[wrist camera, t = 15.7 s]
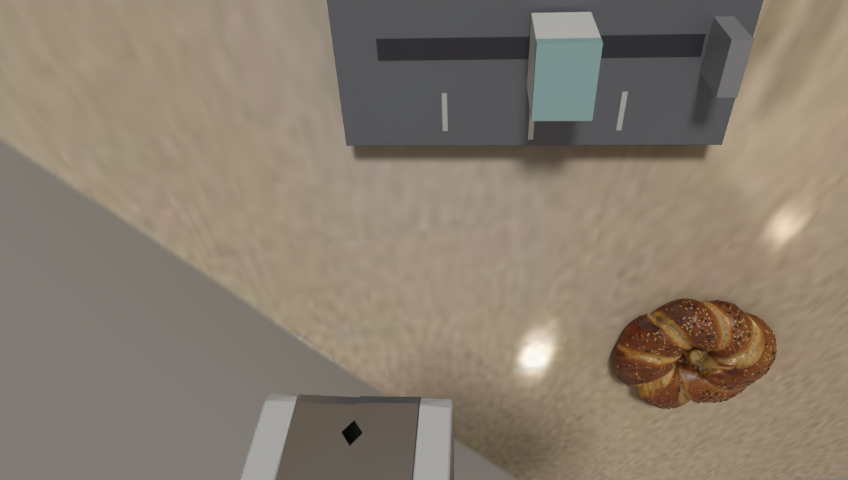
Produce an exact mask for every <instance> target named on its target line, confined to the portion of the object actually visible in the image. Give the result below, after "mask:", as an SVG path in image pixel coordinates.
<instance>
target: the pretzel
mask: <svg viewBox="0 0 848 480" xmlns="http://www.w3.org/2000/svg"><path fill="white" fill-rule="evenodd" d="M776 345H777V343H776V338H775V334H773V331H772V330H771V329H770V327H769V326H768V325H767V324H766V323H765V322H764V321H763V320H761V319H760V318H758V317H757V316H754V315H752V314H749V313H744V312H743V311H742V310H740V309H739V308H738V307H737V306H736V305H735V304H731V303H728V302H725V301H719V300H716V301H709V302H702V303H701V302H699V301H696V300H692V299H679V300H675V301H672V302H670V303H666V304H665V305H663V306H661V307H660V308H659V309H658V310H656V311H654V312H653V313H652V314H651V315H648V314H645V315H643V316H639V318H637V319H636V320H634V321H633V322H631V323H630V324H629V325H628V326H627V327H626V329H625V330H624V332H623V334H622V335H621V338H620V340H619V342H618V344H617V346H616V347H615V350H614V353H613V369H614V371H615V374H616V376H617V377H618V378H619V379H620V380H621V381H622V382H623V383H625V384H626V385H628V386H634V387H636V388H637V389H638V392H639V396H638V397H639V398H640V399H642V400H644V401H645V402H646V403H648V404H649V405H652V406H656V407H658V408H662V409H666V408H667V409H670V408H677V407H679V406H681V405H684V404H685V403H687V402H688V401H689V400H690V399H691V400H692V401H694V402H697V403H700V402H703V403H705V402H713V403H715V402H721V401H727V400H728V399H730V398H733V397H735V396H736V395H738V394H739V393H741V392H742V391H743V390H744V389H745V388H746V387H747V386H748V385H750V384H752V383H754V382H755V381H757V380H758V379H760V378H761V377H763V376H764V375H765V374H766V373H767V371H769V370H770V367H771V366H772V365H773V362H774V360H775V356H776V352H777V350H776Z"/></svg>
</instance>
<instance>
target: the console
mask: <svg viewBox="0 0 848 480" xmlns="http://www.w3.org/2000/svg"><path fill="white" fill-rule="evenodd" d="M762 3H763V0H327V4H328V12H329V19H330V27H331V34H332V41H333V49H334V56H335V63H336V71H337V78H338V85H339V93H340V100H341V108H342V115H343V122H344V130H345V137H346V144H347V146H380V145H722V142H723V139H724V135H725V132H726V128H727V125H728V121H729V118H730V114H731V111H732V107H733V104H734V100H735V98H737V96H738V92H739V89H740V85H741V82H742V78H743V75H744V71H745V68H746V64H747V61H748V58H749V54H750V51H751V47H752V44H753V40H754V39H753V34H754V31H755V27H756V24H757V20H758V17H759V13H760V10H761V6H762ZM552 12H592V15H593V18H594V20H595V23H596V26H597V28H598V31H599V33H600V36H601V39H602V41H603V47H602V54H601V62H600V69H599V76H598V83H597V91H596V98H595V105H594V112H593V120H592V121H531V114H530V106H529V99H528V91H527V75H528V59H529V43H530V27H531V13H552Z"/></svg>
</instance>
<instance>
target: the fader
mask: <svg viewBox="0 0 848 480" xmlns="http://www.w3.org/2000/svg"><path fill="white" fill-rule="evenodd" d="M602 47H603V41H602V39H601V36H600V33H599V31H598V28H597V26H596V23H595V20H594V18H593V15H592V12H552V13H531V27H530V43H529V59H528V75H527V91H528V99H529V106H530V114H531V121H592V120H593V112H594V105H595V98H596V91H597V83H598V76H599V69H600V62H601V54H602Z"/></svg>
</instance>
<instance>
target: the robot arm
mask: <svg viewBox="0 0 848 480" xmlns="http://www.w3.org/2000/svg"><path fill="white" fill-rule="evenodd" d="M240 480H454V427H453V399H452V398H421V397H376V396H373V397H371V396H361V397H342V396H341V397H340V396H319V395H302V394H273V393H270V394H269V396H268V398H267V399H266V401H265V402H264V404H263V407H262V411H261V414H260V417H259V420H258V423H257V426H256V430H255V433H254V436H253V439H252V442H251V445H250V448H249V451H248V455H247V458H246V461H245V464H244V467H243V471H242V474H241V477H240Z"/></svg>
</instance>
